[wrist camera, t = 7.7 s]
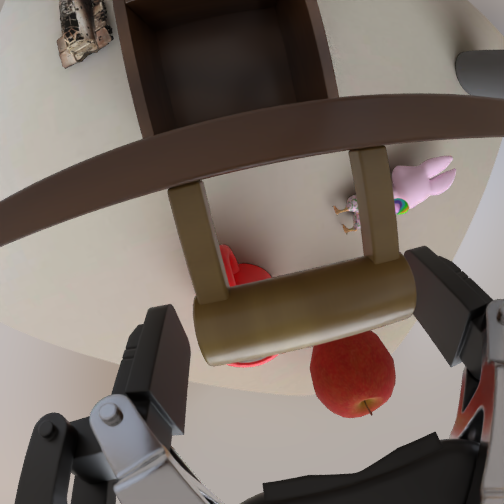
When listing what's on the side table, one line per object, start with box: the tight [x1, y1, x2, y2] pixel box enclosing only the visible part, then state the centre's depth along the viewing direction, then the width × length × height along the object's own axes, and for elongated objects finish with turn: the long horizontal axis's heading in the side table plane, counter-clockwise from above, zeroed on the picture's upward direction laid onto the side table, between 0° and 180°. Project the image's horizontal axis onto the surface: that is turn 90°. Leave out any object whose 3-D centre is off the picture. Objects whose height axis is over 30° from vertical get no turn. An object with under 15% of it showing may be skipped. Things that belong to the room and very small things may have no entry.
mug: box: [219, 244, 278, 368], centre depth 30 cm, size 8×12×8 cm, turn 18°
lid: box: [0, 93, 504, 366], centre depth 11 cm, size 14×13×5 cm
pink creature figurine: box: [332, 156, 456, 234], centre depth 27 cm, size 6×6×15 cm
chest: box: [113, 0, 339, 139], centre depth 19 cm, size 14×13×10 cm
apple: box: [310, 330, 396, 418], centre depth 33 cm, size 10×10×14 cm
